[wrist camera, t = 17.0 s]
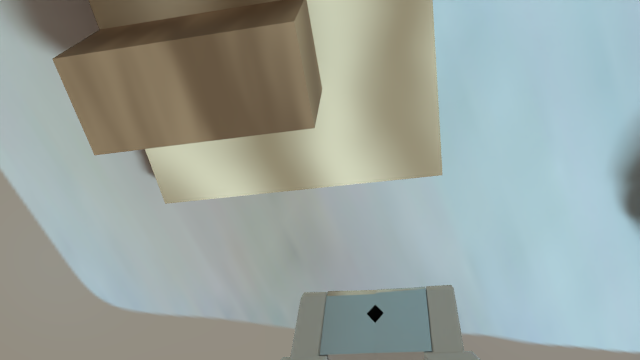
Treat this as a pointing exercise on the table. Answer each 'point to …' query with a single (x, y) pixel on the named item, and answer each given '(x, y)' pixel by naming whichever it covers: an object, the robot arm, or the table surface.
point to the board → (334, 109)
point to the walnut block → (195, 78)
